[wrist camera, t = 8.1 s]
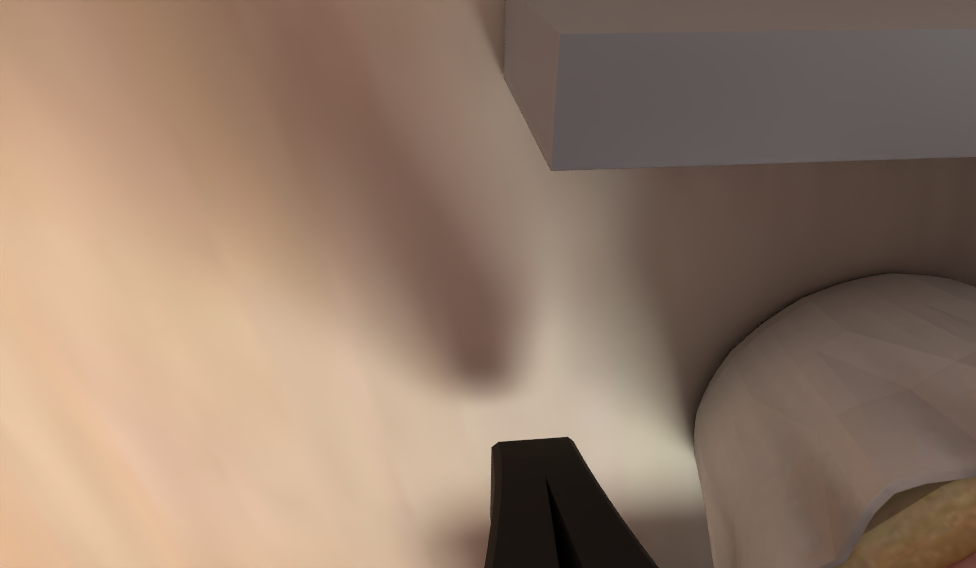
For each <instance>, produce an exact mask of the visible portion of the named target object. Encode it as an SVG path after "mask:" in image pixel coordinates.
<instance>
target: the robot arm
mask: <svg viewBox="0 0 976 568" xmlns="http://www.w3.org/2000/svg"><path fill="white" fill-rule="evenodd" d="M490 518H491V527H490V534H489V541H488V549H487V555H486V561H485V567H484V568H659V567H658V566H657V565H656V564H655V562H654V561H653V560H652V558H651V557H650V556H649V554H648V553H647V552H646V550H645V549H644V548H643V546H642V545H641V544H640V542H639V541H638V540H637V538H636V537H635V535H634V534H633V533H632V531H631V530H630V529H629V527H628V526H627V524H626V523H625V522H624V520H623V519H622V518H621V516H620V515H619V513H618V512H617V510H616V509H615V507H614V506H613V504H612V503H611V502H610V500H609V498H608V497H607V495H606V494H605V492H604V491H603V489H602V488H601V486H600V485H599V483H598V482H597V480H596V479H595V477H594V475H593V474H592V472H591V471H590V469H589V467H588V466H587V464H586V462H585V461H584V459H583V457H582V456H581V454H580V452H579V450H578V449H577V447H576V445H575V443H574V441H572V440H571V439H570V438H569V437H561V438H547V439H533V440H519V441H505V442H498V443H496V444H495V445H494V446H493V447H492V455H491V507H490Z"/></svg>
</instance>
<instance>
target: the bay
mask: <svg viewBox="0 0 976 568" xmlns="http://www.w3.org/2000/svg"><path fill="white" fill-rule="evenodd" d="M504 79H505V81H506V83H507V85H508V87H509V89H510V91H511V93H512V95H513V97H514V99H515V101H516V103H517V105H518V107H519V109H520V111H521V113H522V115H523V117H524V119H525V121H526V123H527V125H528V126H529V128H530V130H531V132H532V134H533V136H534V138H535V140H536V142H537V144H538V146H539V148H540V150H541V152H542V154H543V156H544V158H545V160H546V162H547V164H548V166H549V168H550V170H551V171H562V170H592V169H622V168H653V167H683V166H714V165H744V164H774V163H805V162H835V161H866V160H896V159H926V158H957V157H976V0H505V43H504Z"/></svg>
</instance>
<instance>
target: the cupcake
mask: <svg viewBox="0 0 976 568" xmlns="http://www.w3.org/2000/svg"><path fill="white" fill-rule="evenodd" d="M694 454H695V459H696V464H697V469H698V474H699V478H700V483H701V488H702V493H703V498H704V503H705V509H706V516H707V523H708V530H709V537H710V544H711V551H712V558H713V565H714V568H976V287H974V286H971V285H968V284H966V283H963V282H960V281H956V280H953V279H949V278H943V277H935V276H926V275H914V274H897V273H887V274H881V275H876V276H870V277H865V278H860V279H856V280H852V281H847V282H844V283H841V284H838V285H835V286H832V287H829V288H826V289H824V290H821V291H818V292H816V293H813V294H811V295H808V296H806V297H803V298H801V299H800V300H798V301H796V302H795V303H793V304H791V305H790V306H788V307H787V308H785V309H783V310H782V311H780V312H779V313H777V314H776V315H774V316H773V317H771V318H770V319H768V320H767V321H765V322H764V323H763V324H761V325H760V326H759V327H758V328H756V329H755V330H754V331H753V332H752V333H750V334H749V335H748V336H747V337H746V338H745V339H744V340H742V341H741V342H740V343H739V344H738V345H737V346H736V347H735V348H734V349H732V350H731V352H730V353H729V354H728V356H727V357H726V358H725V360H724V361H723V363H722V364H721V365H720V367H719V368H718V370H717V371H716V373H715V374H714V376H713V377H712V379H711V380H710V382H709V384H708V386H707V388H706V390H705V393H704V395H703V397H702V400H701V402H700V405H699V407H698V410H697V413H696V420H695V430H694Z"/></svg>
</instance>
